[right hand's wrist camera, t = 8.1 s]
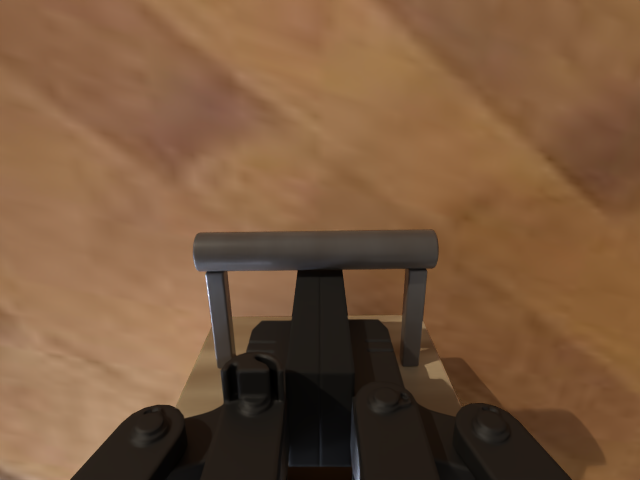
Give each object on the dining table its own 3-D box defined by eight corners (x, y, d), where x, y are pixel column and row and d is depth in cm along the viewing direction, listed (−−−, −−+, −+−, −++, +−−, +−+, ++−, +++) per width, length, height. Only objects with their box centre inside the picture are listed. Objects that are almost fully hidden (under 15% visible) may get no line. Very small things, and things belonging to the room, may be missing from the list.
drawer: (202, 206, 16) (129, 279, 10) (430, 203, 16) (500, 274, 10) (243, 542, 23) (215, 705, 17) (400, 540, 23) (430, 703, 17)
